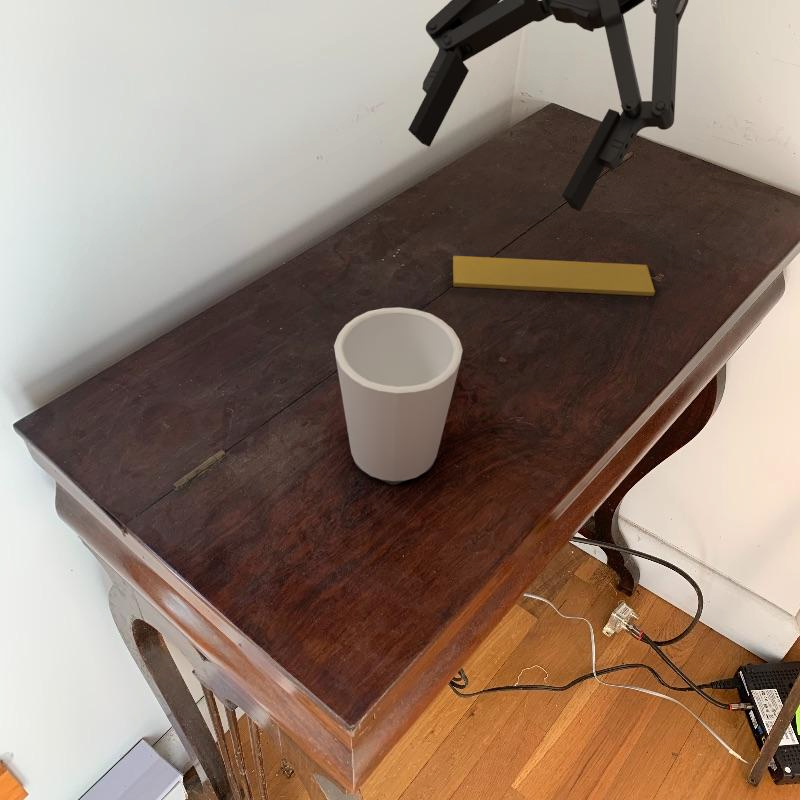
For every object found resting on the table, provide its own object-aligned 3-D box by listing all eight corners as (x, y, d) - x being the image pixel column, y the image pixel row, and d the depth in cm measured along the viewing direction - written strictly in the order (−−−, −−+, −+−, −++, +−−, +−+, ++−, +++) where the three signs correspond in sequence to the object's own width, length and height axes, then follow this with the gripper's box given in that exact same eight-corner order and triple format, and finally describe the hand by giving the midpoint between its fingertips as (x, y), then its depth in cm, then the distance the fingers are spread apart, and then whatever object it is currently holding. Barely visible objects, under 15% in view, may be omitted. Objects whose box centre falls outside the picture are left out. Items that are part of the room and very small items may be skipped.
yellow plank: (645, 269, 91) (647, 264, 91) (653, 296, 88) (655, 292, 88) (452, 259, 91) (453, 255, 91) (453, 286, 88) (453, 282, 88)
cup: (448, 415, 74) (460, 308, 65) (451, 500, 68) (465, 394, 58) (341, 411, 74) (338, 303, 65) (333, 496, 67) (328, 389, 58)
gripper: (807, -29, 55) (651, 249, 58) (505, -105, 65) (383, 133, 68) (812, -102, 48) (635, 217, 51) (474, -174, 59) (340, 93, 61)
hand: (491, 170), depth 59 cm, fingers open, 13 cm apart
